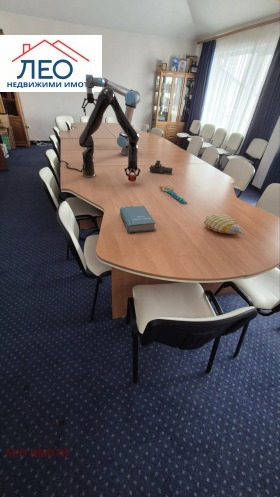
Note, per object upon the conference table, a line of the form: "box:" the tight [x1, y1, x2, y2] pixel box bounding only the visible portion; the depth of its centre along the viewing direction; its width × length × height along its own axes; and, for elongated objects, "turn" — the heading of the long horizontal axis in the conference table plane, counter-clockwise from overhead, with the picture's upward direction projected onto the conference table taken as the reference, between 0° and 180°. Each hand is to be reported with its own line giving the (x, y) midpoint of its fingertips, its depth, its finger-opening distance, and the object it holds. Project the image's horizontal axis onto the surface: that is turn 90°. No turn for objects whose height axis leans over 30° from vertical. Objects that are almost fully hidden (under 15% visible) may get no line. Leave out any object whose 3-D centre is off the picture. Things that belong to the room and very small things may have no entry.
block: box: [129, 174, 136, 183], centre depth 187 cm, size 4×4×5 cm
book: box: [119, 205, 156, 233], centre depth 136 cm, size 23×16×5 cm
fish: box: [203, 213, 245, 235], centre depth 133 cm, size 25×8×20 cm
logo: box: [159, 185, 188, 204], centre depth 175 cm, size 34×10×1 cm, turn 16°
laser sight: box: [148, 160, 173, 175], centre depth 216 cm, size 10×22×10 cm, turn 78°
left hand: (132, 180), depth 187 cm, fingers closed on block, 4 cm apart
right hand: (91, 116), depth 247 cm, fingers open, 13 cm apart
